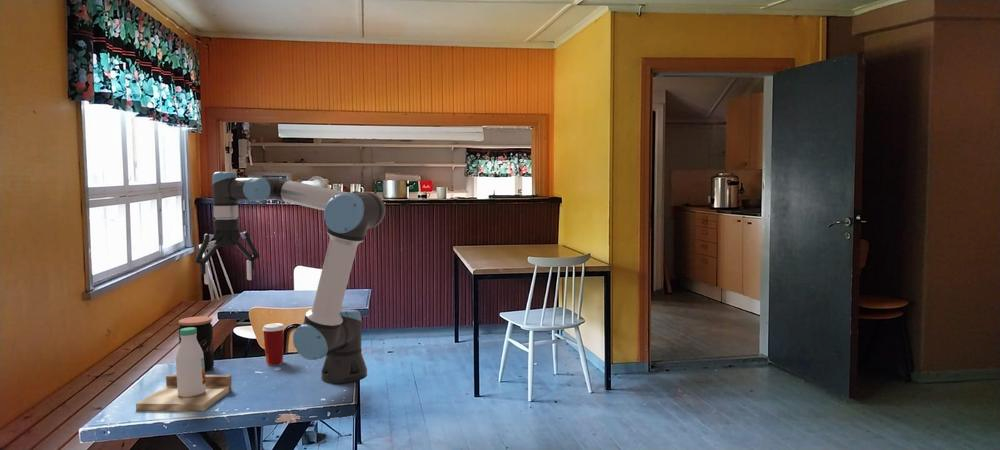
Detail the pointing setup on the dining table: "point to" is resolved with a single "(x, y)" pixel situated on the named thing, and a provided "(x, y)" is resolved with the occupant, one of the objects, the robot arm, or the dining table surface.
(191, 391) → the milk bottle
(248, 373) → the dining table surface
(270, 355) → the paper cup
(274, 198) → the robot arm
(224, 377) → the light wooden flat tray
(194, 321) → the coffee jar
